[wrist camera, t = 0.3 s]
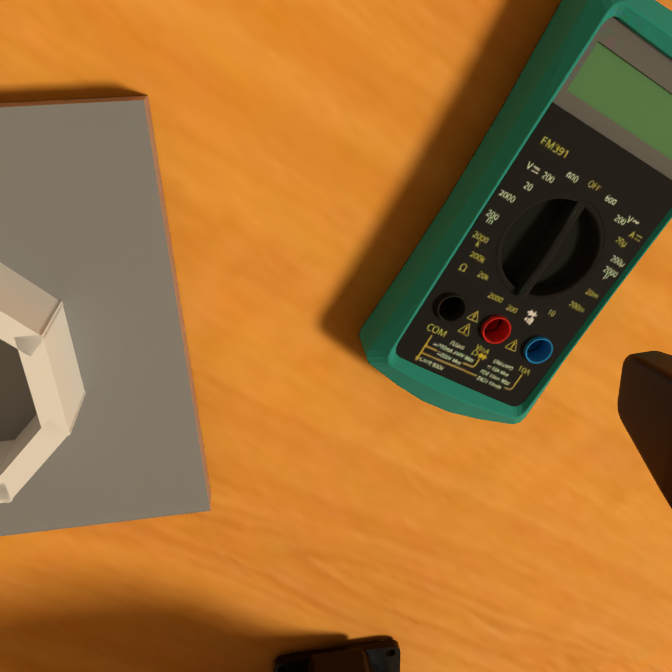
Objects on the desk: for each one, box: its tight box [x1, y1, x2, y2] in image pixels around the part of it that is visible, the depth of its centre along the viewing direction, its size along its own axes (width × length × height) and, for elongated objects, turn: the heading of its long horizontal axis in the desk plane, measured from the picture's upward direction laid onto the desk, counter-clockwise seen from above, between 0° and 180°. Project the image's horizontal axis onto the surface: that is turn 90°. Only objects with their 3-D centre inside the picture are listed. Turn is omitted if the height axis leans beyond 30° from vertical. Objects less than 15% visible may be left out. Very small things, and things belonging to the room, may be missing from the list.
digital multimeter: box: [359, 0, 672, 424], centre depth 23 cm, size 7×15×3 cm, turn 151°
